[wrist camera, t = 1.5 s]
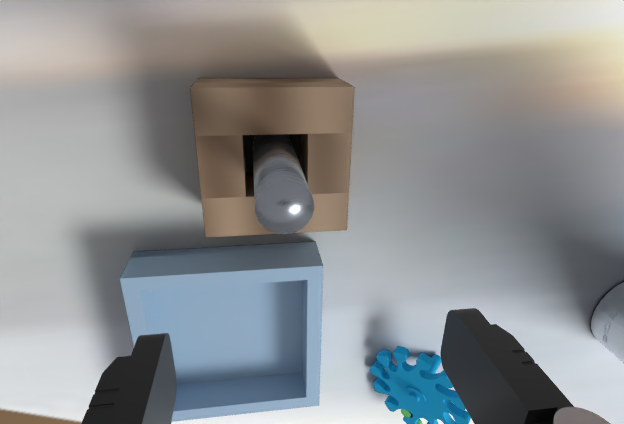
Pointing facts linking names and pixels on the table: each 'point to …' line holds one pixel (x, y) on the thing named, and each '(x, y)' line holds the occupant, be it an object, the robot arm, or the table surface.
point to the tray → (233, 324)
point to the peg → (280, 185)
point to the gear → (417, 388)
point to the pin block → (268, 121)
